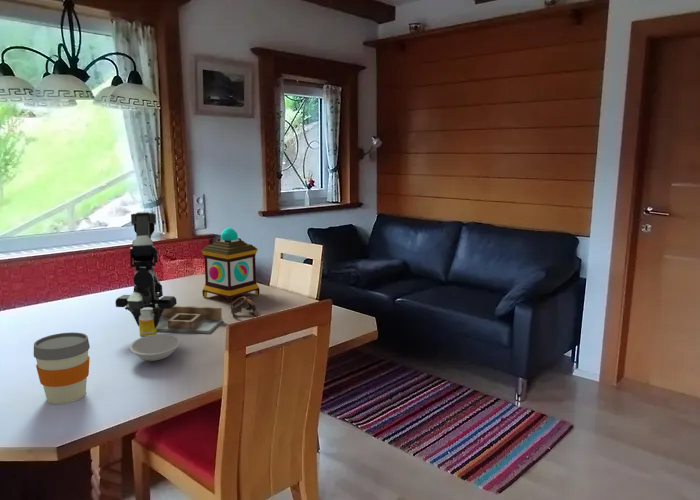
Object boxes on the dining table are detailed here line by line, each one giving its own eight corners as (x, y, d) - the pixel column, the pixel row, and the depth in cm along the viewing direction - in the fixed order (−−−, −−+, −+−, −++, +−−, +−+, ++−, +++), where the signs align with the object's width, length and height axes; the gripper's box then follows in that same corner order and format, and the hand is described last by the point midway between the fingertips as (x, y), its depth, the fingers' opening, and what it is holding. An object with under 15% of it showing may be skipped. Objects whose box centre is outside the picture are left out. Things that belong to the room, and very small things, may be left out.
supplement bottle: (139, 335, 182) (137, 307, 181) (155, 332, 185) (154, 305, 183) (140, 340, 178) (138, 312, 176) (157, 337, 180) (156, 310, 178)
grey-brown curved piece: (257, 320, 202) (245, 303, 199) (236, 329, 204) (224, 312, 201) (263, 303, 212) (252, 287, 209) (243, 312, 215) (232, 296, 212)
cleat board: (148, 331, 187) (147, 316, 186) (165, 318, 201) (164, 304, 200) (209, 333, 185) (208, 318, 184) (222, 320, 199) (222, 306, 198)
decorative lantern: (233, 288, 246) (231, 223, 240) (264, 295, 234) (262, 227, 229) (197, 297, 230) (194, 228, 224) (229, 305, 218) (226, 232, 213)
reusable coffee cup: (66, 382, 146) (61, 330, 143) (104, 389, 142) (100, 334, 139) (26, 403, 134) (20, 346, 131) (67, 410, 130) (61, 352, 128)
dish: (178, 369, 156) (177, 352, 155) (125, 372, 153) (124, 356, 152) (183, 347, 172) (183, 332, 172) (136, 350, 170) (135, 335, 169)
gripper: (104, 286, 170) (108, 333, 173) (161, 288, 169) (164, 335, 172) (122, 278, 181) (125, 322, 184) (176, 279, 180) (178, 324, 183)
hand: (147, 326), depth 180 cm, fingers closed on supplement bottle, 5 cm apart
